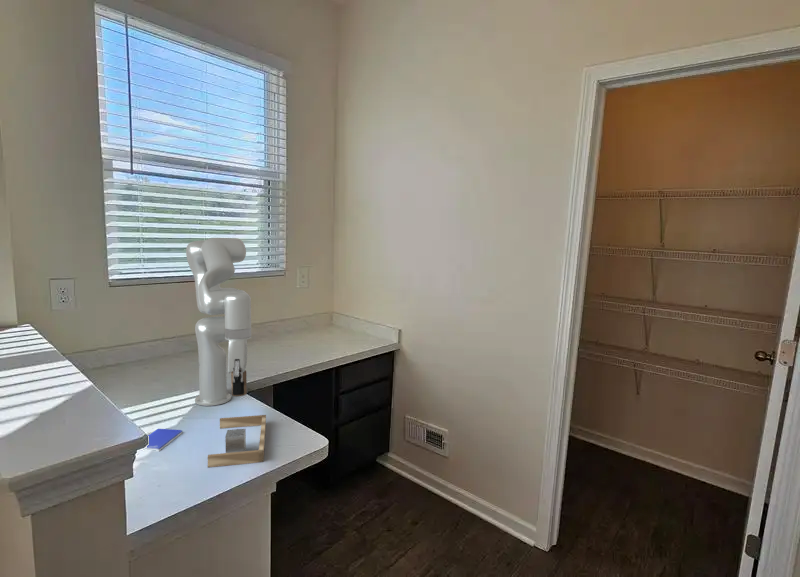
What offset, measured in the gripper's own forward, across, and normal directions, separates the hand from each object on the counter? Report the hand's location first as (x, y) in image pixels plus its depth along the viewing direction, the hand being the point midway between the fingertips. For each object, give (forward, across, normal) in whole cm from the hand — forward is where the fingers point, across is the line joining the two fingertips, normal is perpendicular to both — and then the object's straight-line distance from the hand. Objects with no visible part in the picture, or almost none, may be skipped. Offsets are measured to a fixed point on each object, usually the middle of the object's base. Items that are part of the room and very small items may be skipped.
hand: (239, 391), depth 138 cm
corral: (+14, +6, 0) cm, 15 cm away
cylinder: (+1, 0, 0) cm, 1 cm away
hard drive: (+15, -1, -23) cm, 28 cm away
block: (+14, +12, 0) cm, 18 cm away
